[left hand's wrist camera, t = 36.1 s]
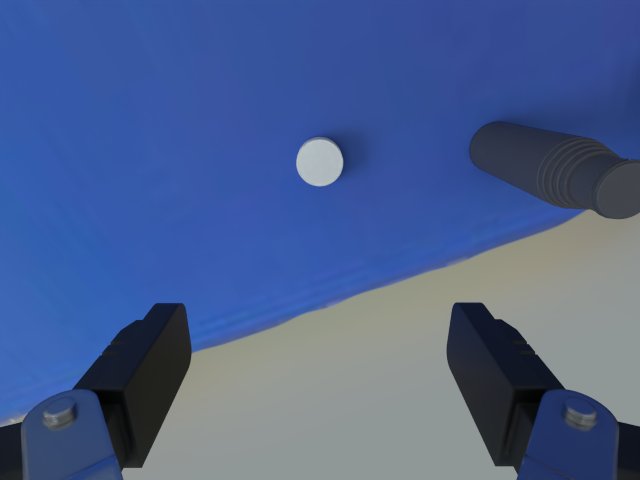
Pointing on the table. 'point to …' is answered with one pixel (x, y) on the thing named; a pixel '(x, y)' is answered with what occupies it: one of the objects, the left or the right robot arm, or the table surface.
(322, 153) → the cap
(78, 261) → the table surface
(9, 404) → the table surface
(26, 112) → the table surface
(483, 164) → the bottle
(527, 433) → the left robot arm
